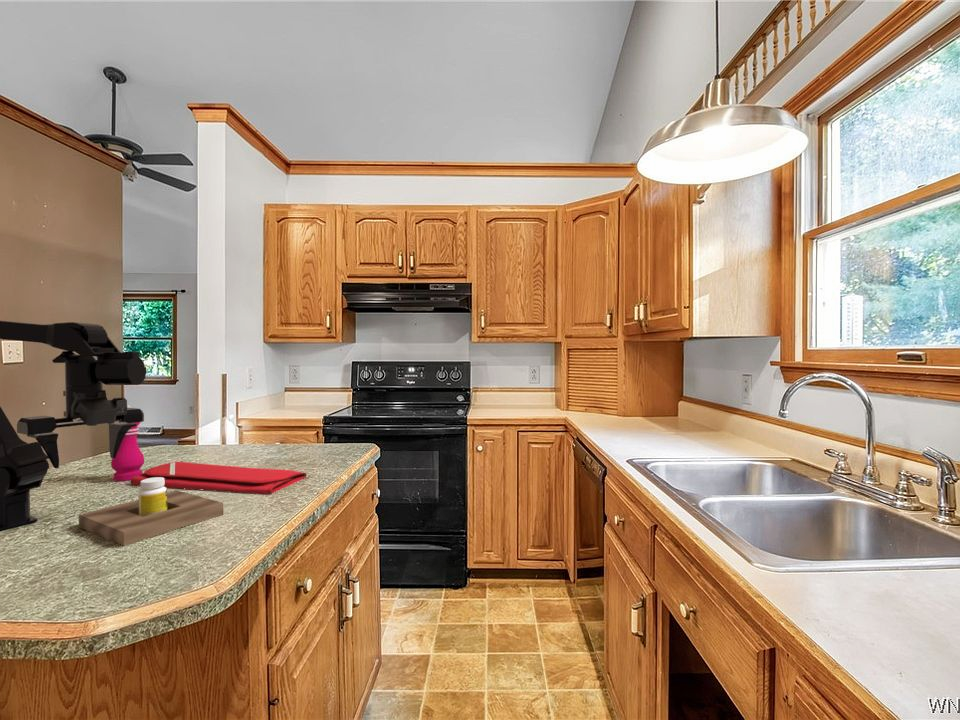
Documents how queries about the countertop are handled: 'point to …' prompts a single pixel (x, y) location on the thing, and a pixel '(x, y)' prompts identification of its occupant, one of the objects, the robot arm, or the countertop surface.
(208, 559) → the countertop surface
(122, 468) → the pepper mill
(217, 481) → the red folded cloth
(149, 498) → the supplement bottle
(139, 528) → the socket board
